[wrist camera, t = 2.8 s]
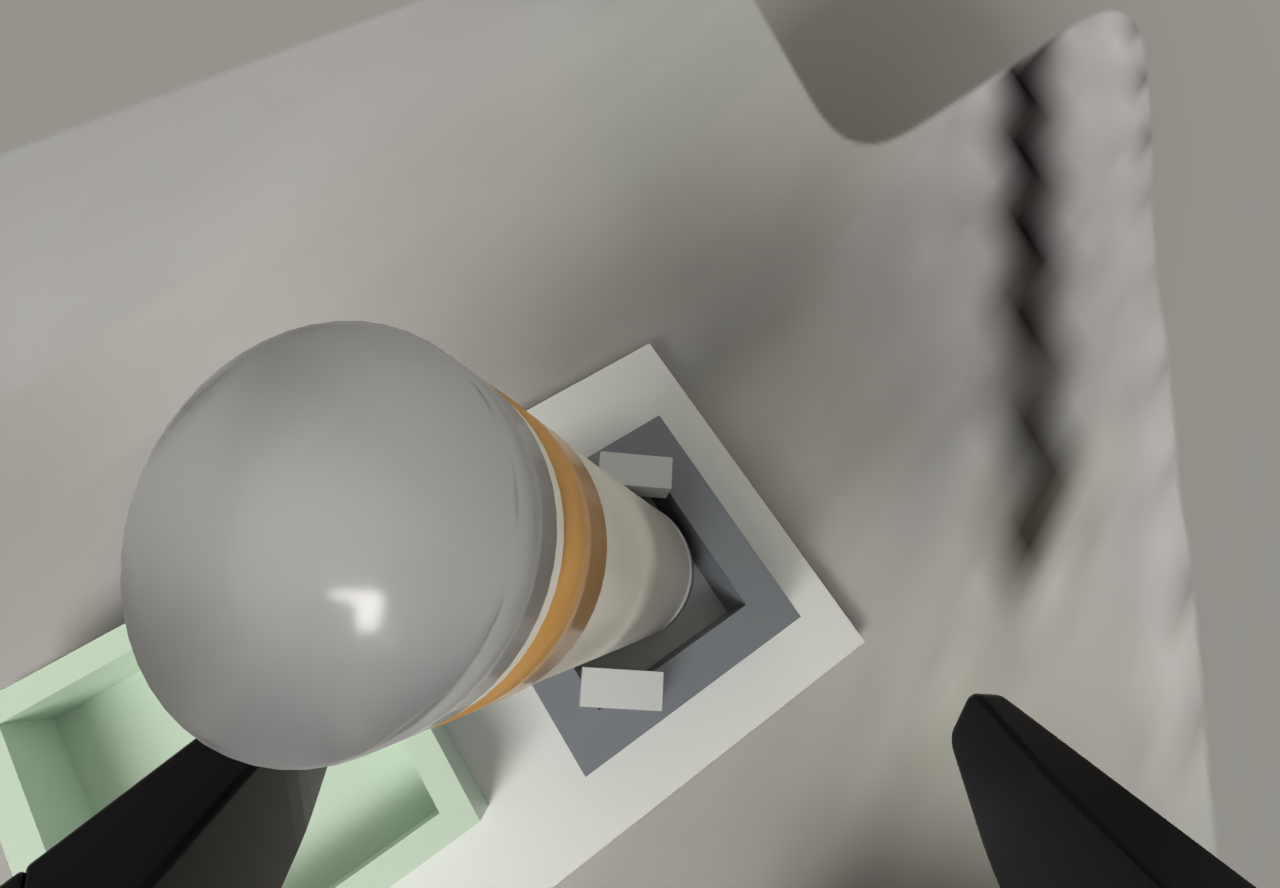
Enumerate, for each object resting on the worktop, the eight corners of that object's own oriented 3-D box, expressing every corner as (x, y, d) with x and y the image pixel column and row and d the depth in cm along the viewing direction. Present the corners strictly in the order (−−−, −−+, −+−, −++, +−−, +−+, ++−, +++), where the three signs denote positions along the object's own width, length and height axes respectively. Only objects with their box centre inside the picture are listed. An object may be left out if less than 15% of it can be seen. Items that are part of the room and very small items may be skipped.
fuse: (611, 670, 19) (225, 875, 5) (536, 557, 20) (62, 490, 6) (722, 585, 19) (614, 575, 5) (640, 476, 20) (380, 241, 6)
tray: (167, 1036, 16) (93, 1102, 13) (40, 709, 18) (-45, 715, 15) (491, 801, 18) (480, 821, 16) (348, 536, 20) (318, 517, 18)
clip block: (582, 762, 19) (587, 783, 15) (462, 557, 20) (440, 531, 17) (770, 624, 20) (814, 613, 17) (647, 446, 22) (664, 401, 18)
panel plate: (184, 1168, 15) (169, 1188, 14) (8, 703, 18) (-11, 704, 17) (856, 642, 21) (864, 641, 20) (647, 351, 23) (649, 342, 23)
